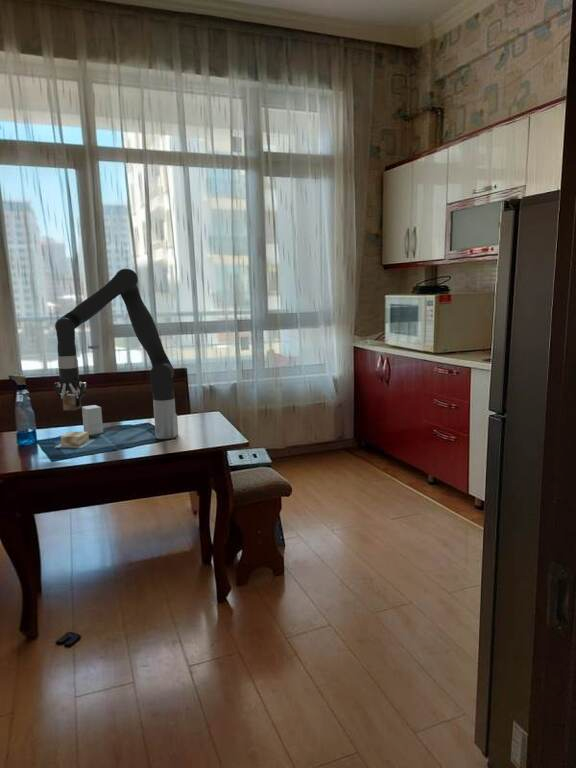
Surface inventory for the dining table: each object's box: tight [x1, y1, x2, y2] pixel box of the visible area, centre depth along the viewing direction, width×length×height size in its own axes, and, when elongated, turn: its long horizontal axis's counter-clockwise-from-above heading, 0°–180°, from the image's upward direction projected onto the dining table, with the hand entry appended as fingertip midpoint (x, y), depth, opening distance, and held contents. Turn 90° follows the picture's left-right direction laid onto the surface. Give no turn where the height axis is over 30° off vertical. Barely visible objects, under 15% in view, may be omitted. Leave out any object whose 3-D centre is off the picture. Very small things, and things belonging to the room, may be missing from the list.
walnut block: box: [61, 393, 82, 411], centre depth 214 cm, size 5×5×6 cm
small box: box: [81, 404, 104, 436], centre depth 234 cm, size 8×6×13 cm
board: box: [55, 438, 96, 449], centre depth 218 cm, size 12×12×1 cm
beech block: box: [60, 431, 90, 446], centre depth 217 cm, size 8×8×4 cm
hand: (72, 406), depth 215 cm, fingers closed on walnut block, 5 cm apart
